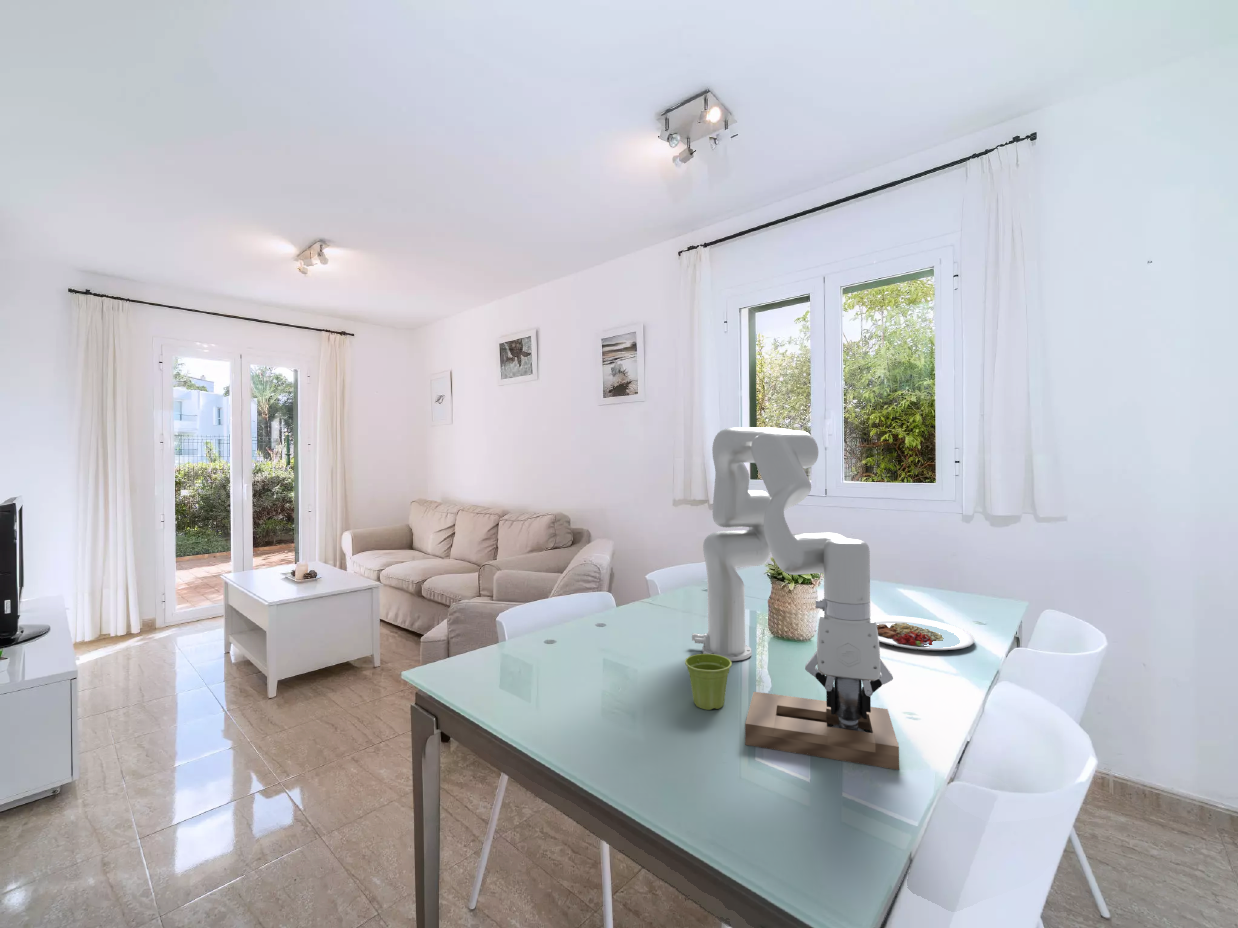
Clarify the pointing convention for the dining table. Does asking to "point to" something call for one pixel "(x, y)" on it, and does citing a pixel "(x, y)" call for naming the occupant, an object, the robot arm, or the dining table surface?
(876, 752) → the keyhole plate
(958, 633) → the plated food
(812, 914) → the dining table surface
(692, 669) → the plant pot
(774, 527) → the robot arm
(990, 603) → the dining table surface
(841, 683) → the peg
